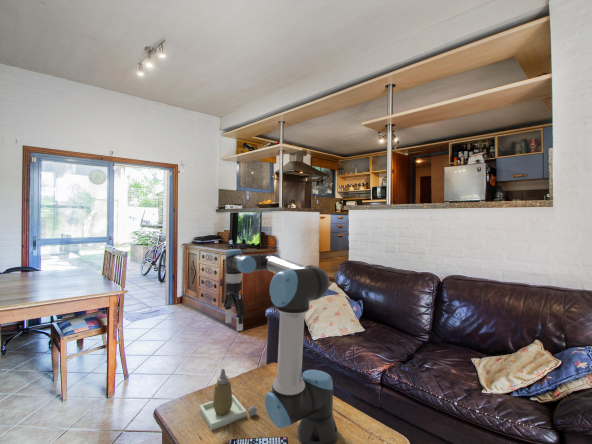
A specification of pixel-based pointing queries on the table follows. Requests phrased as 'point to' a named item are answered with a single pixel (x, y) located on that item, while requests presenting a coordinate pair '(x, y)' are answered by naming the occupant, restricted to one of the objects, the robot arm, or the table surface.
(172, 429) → the table surface
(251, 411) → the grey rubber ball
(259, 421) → the table surface
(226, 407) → the squeeze bottle
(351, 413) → the table surface
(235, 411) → the tray
